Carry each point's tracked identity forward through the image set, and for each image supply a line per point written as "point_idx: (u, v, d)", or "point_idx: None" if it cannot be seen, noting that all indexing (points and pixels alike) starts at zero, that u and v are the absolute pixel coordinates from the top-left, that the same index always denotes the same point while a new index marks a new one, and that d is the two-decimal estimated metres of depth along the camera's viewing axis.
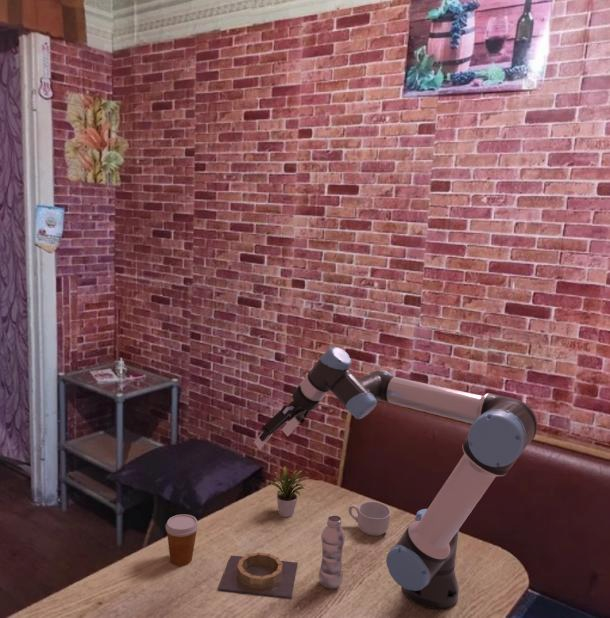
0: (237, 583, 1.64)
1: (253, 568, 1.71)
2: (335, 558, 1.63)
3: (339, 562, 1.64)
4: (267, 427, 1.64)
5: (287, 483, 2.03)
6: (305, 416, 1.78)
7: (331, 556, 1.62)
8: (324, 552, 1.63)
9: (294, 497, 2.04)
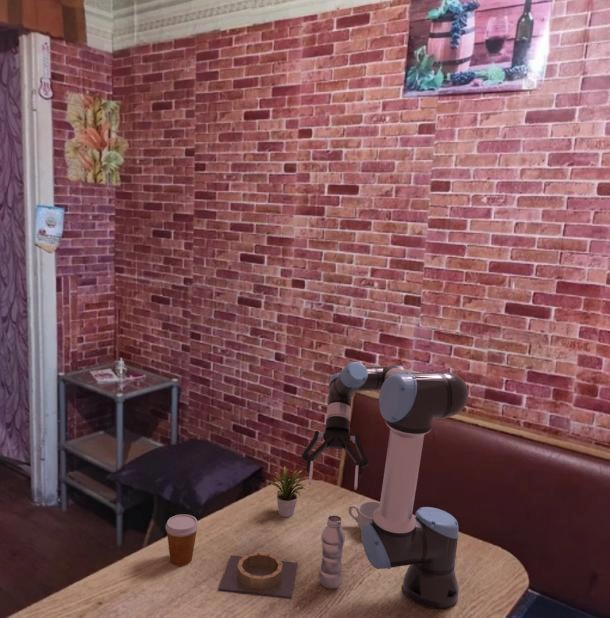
0: (237, 583, 1.64)
1: (253, 568, 1.71)
2: (335, 558, 1.63)
3: (339, 562, 1.64)
4: None
5: (287, 483, 2.03)
6: (363, 460, 1.79)
7: (331, 556, 1.62)
8: (324, 552, 1.63)
9: (294, 497, 2.04)
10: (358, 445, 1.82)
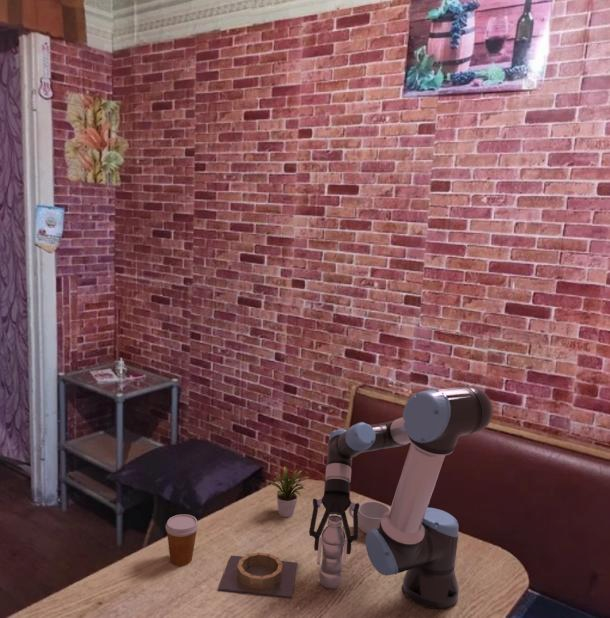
0: (237, 583, 1.64)
1: (253, 568, 1.71)
2: (335, 558, 1.63)
3: (339, 562, 1.64)
4: None
5: (287, 483, 2.03)
6: None
7: (331, 556, 1.62)
8: (324, 552, 1.63)
9: (294, 497, 2.04)
10: (355, 515, 1.68)
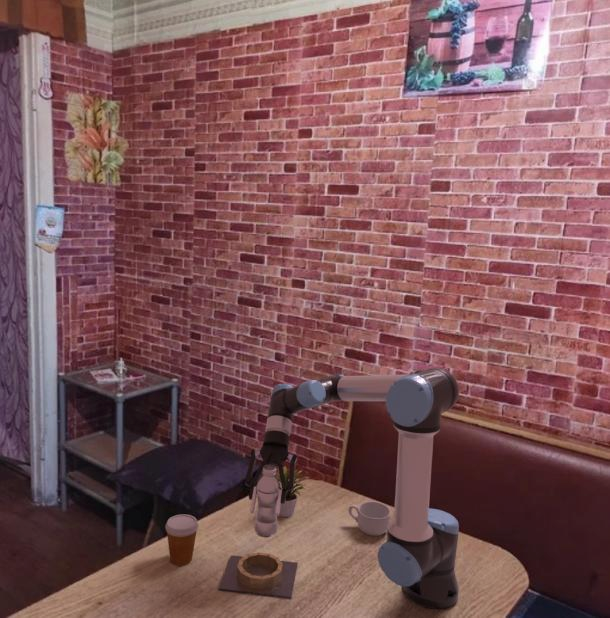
0: (237, 583, 1.64)
1: (253, 568, 1.71)
2: (269, 507, 1.63)
3: (273, 511, 1.64)
4: None
5: (287, 483, 2.03)
6: (289, 483, 1.66)
7: (265, 505, 1.63)
8: (259, 501, 1.64)
9: (294, 497, 2.04)
10: (291, 466, 1.68)
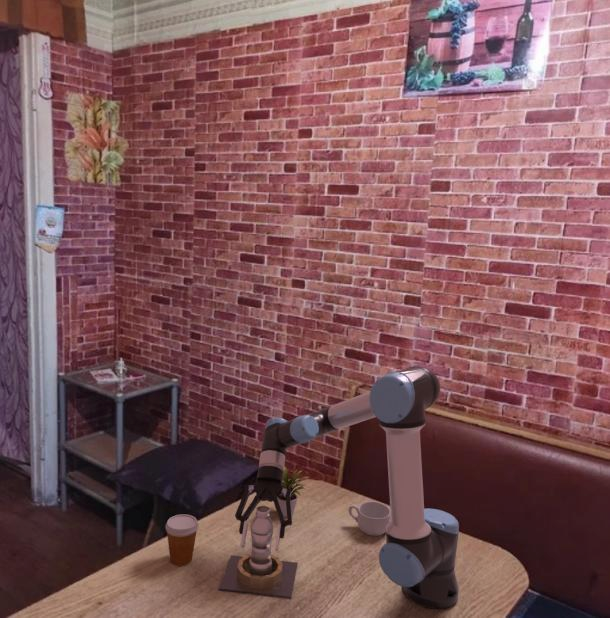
0: (237, 583, 1.64)
1: None
2: (263, 548, 1.64)
3: (268, 552, 1.65)
4: None
5: (287, 483, 2.03)
6: (287, 517, 1.67)
7: (259, 546, 1.64)
8: (253, 542, 1.65)
9: (294, 497, 2.04)
10: (287, 500, 1.70)
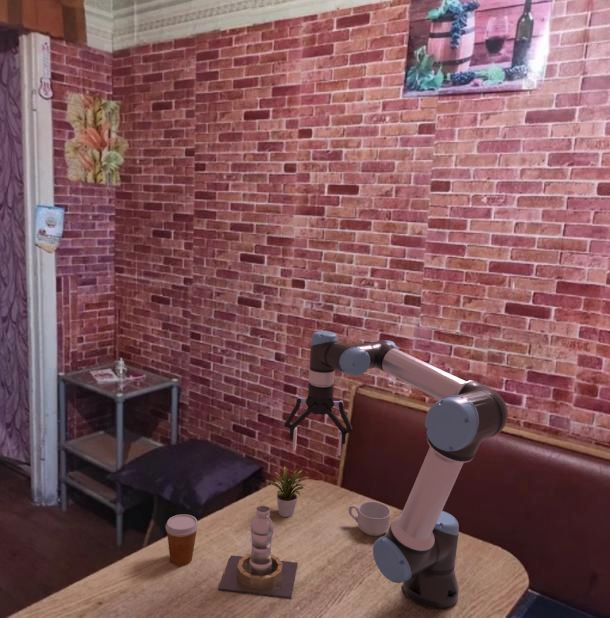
0: (237, 583, 1.64)
1: None
2: (263, 548, 1.64)
3: (268, 552, 1.65)
4: None
5: (287, 483, 2.03)
6: (347, 428, 1.76)
7: (259, 546, 1.64)
8: (253, 542, 1.65)
9: (294, 497, 2.04)
10: (342, 413, 1.75)
